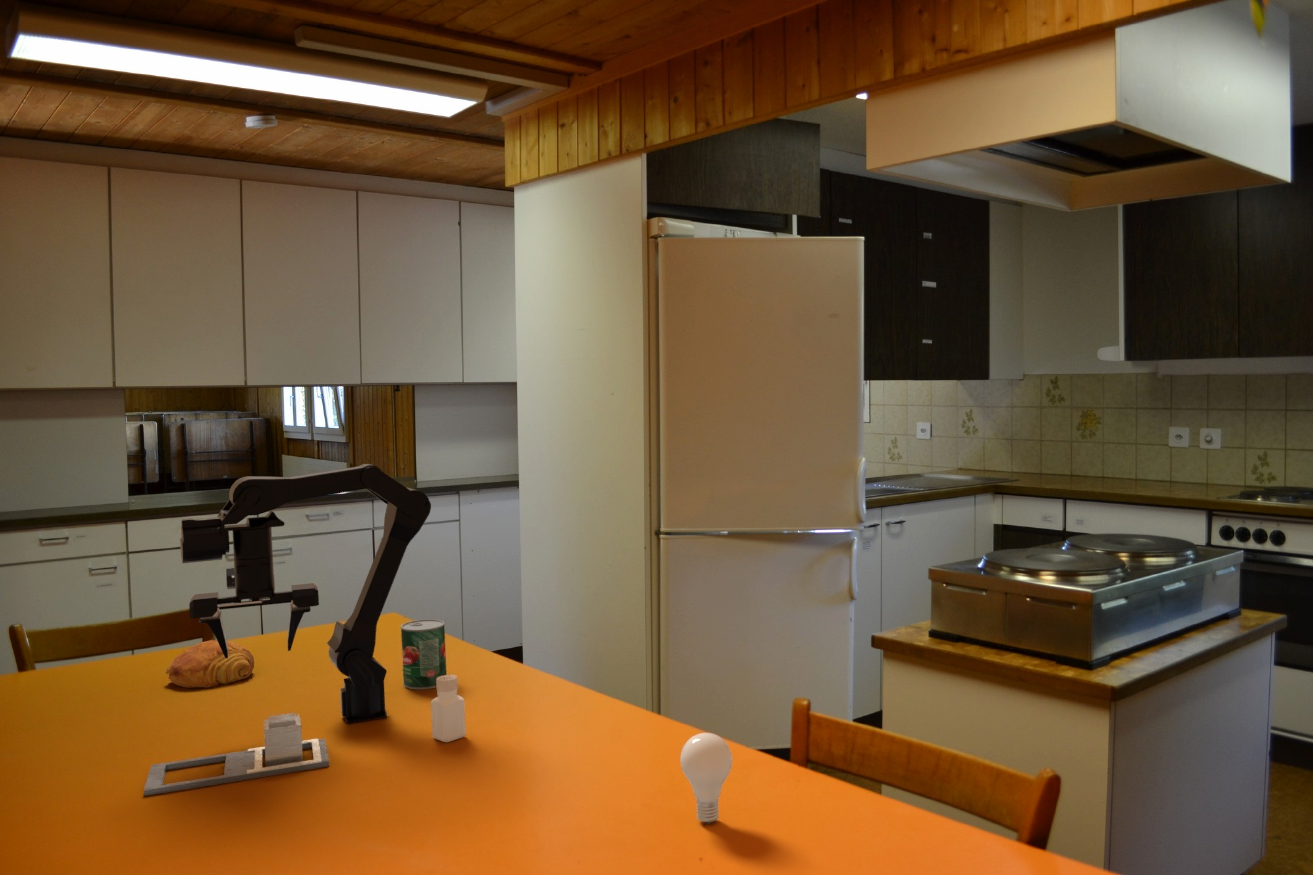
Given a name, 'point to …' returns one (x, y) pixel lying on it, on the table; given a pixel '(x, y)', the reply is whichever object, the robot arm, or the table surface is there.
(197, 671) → the croissant
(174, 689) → the table surface
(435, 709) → the pepper shaker
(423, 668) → the canned tomato
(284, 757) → the grey upright rectangular block
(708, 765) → the lightbulb
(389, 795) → the table surface
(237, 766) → the rail
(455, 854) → the table surface
